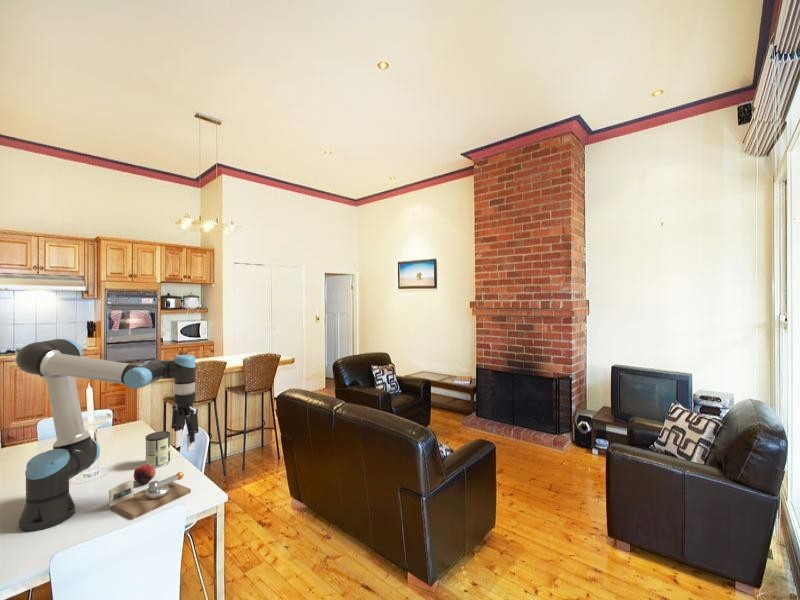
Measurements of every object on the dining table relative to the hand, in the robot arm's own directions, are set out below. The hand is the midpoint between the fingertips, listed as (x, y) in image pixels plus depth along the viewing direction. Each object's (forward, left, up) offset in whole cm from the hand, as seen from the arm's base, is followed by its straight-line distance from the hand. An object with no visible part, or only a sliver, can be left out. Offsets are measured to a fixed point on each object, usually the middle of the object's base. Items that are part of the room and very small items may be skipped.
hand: (184, 448), depth 158 cm
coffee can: (+11, +39, -19) cm, 45 cm away
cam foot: (-4, +6, -17) cm, 19 cm away
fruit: (-3, +24, -19) cm, 31 cm away
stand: (-9, +7, -19) cm, 22 cm away
